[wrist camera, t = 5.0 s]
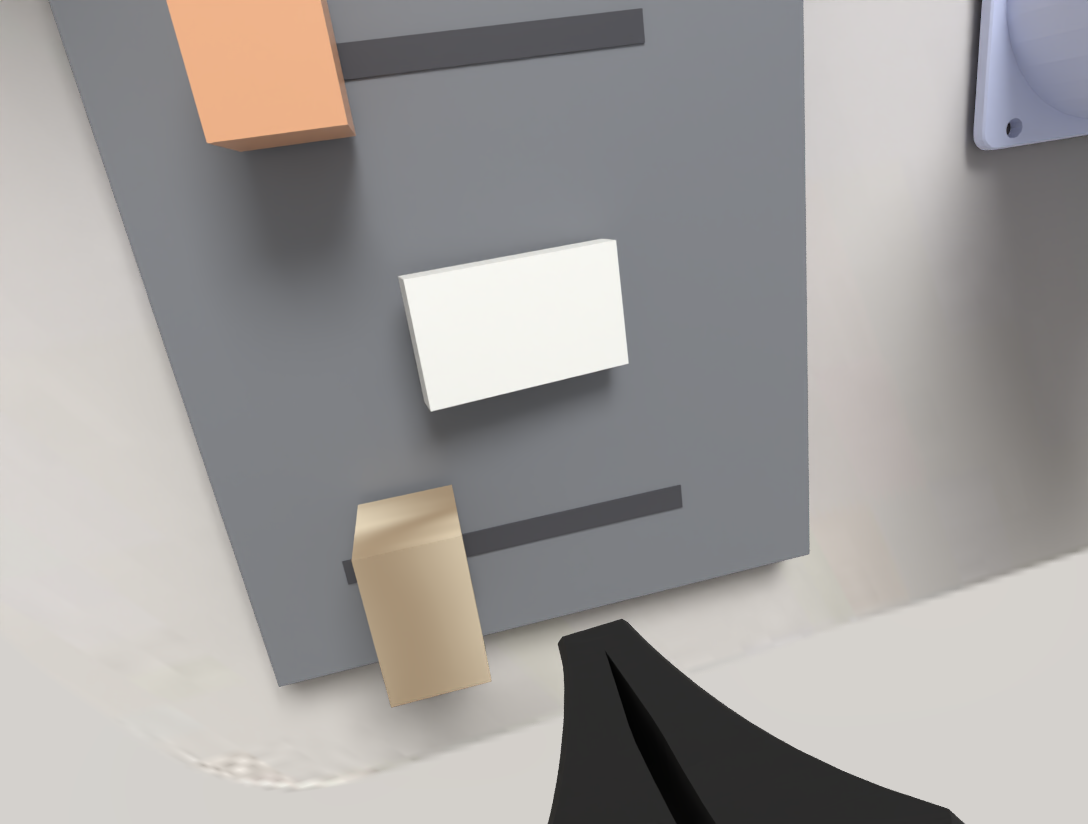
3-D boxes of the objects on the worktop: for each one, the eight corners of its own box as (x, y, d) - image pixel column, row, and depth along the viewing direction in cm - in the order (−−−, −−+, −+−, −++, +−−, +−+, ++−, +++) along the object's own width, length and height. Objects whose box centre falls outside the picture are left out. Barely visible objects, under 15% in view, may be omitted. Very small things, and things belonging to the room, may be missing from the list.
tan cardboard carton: (451, 484, 18) (461, 535, 15) (478, 613, 19) (491, 681, 16) (358, 504, 17) (351, 560, 15) (391, 635, 19) (391, 707, 16)
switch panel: (765, -168, 16) (811, -212, 14) (783, 531, 23) (816, 560, 21) (39, -111, 14) (-13, -156, 12) (287, 652, 20) (276, 697, 18)
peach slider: (321, -24, 14) (304, -74, 11) (356, 135, 15) (347, 124, 12) (196, -11, 13) (149, -60, 11) (240, 151, 14) (207, 143, 12)
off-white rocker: (601, 238, 17) (615, 239, 16) (615, 357, 18) (628, 363, 17) (398, 275, 15) (403, 279, 14) (424, 402, 16) (431, 411, 15)
